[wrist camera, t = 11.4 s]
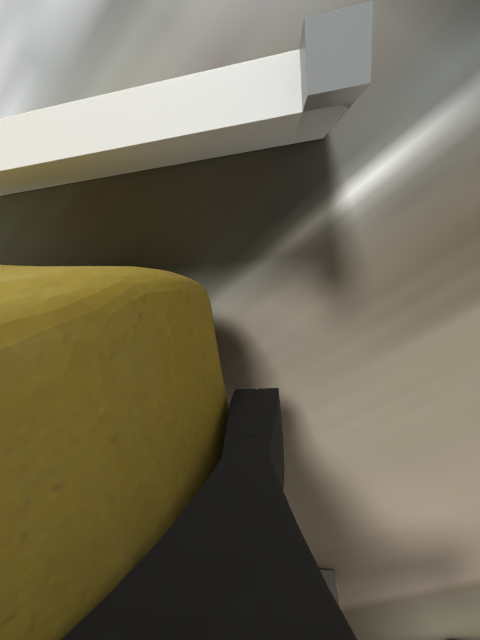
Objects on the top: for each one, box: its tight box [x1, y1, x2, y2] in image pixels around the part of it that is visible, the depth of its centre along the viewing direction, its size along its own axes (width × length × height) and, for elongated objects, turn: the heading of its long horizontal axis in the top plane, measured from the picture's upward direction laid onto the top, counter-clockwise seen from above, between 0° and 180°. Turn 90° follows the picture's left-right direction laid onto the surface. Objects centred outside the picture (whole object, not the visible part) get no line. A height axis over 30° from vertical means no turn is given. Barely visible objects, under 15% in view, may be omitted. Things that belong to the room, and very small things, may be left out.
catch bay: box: [0, 0, 373, 606], centre depth 11 cm, size 22×21×4 cm
